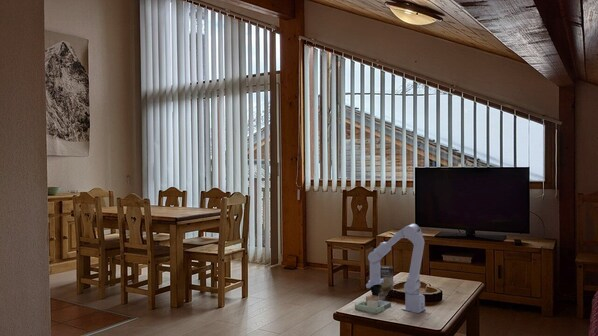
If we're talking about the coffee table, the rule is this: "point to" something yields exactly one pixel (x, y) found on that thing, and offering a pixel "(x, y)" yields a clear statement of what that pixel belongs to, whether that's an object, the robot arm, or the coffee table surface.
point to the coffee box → (386, 280)
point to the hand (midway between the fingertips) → (375, 298)
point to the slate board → (381, 303)
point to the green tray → (368, 308)
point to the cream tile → (372, 304)
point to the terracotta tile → (371, 298)
